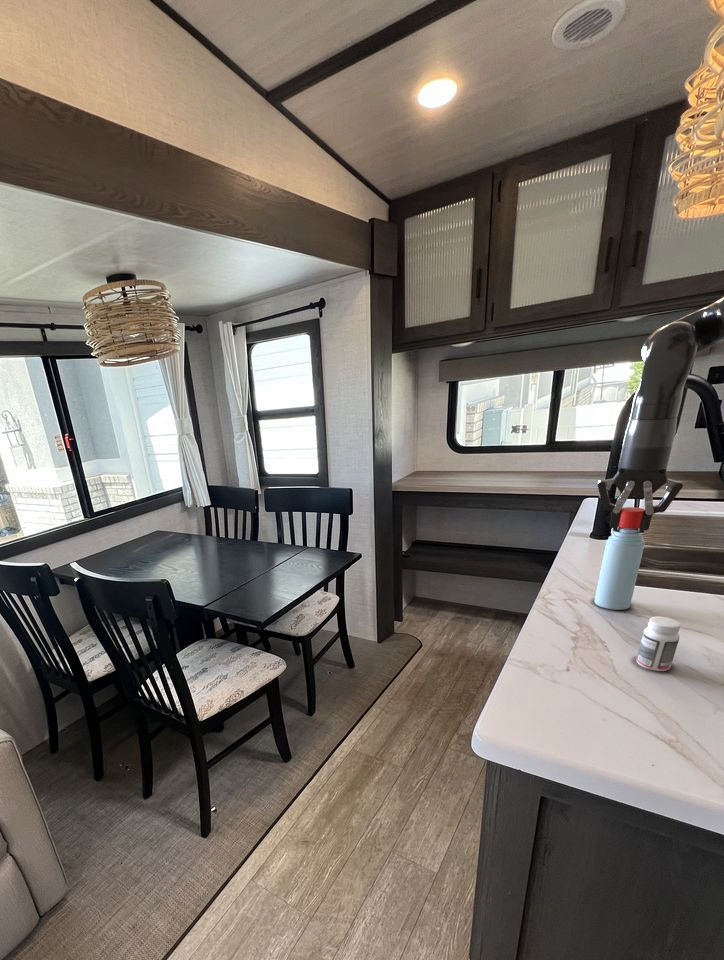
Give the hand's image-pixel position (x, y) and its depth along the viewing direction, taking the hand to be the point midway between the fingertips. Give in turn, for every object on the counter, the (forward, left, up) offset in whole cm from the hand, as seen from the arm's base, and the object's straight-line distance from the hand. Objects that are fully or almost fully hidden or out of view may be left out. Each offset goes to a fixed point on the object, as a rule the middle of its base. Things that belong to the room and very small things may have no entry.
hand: (628, 530), depth 95 cm
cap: (0, 0, +1) cm, 1 cm away
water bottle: (0, 0, -16) cm, 16 cm away
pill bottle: (-6, +24, -17) cm, 30 cm away
